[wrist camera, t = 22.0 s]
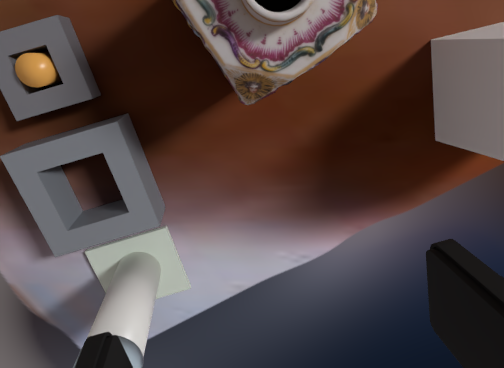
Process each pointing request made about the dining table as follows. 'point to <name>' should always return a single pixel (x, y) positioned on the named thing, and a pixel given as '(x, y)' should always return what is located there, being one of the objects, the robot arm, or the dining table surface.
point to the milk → (470, 90)
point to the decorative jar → (272, 37)
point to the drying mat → (149, 242)
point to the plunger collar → (64, 57)
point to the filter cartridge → (130, 304)
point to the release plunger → (37, 69)
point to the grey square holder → (63, 198)
